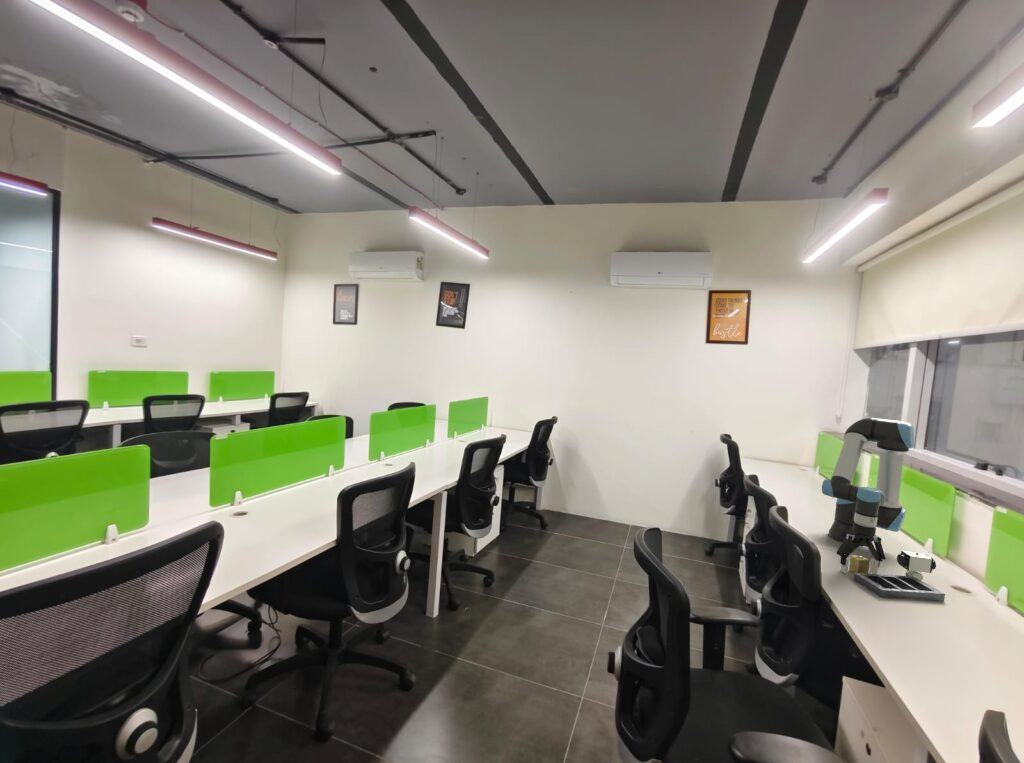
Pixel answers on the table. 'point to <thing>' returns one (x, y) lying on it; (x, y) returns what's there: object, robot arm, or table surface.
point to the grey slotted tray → (898, 587)
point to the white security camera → (916, 563)
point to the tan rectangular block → (859, 564)
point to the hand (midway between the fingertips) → (858, 573)
